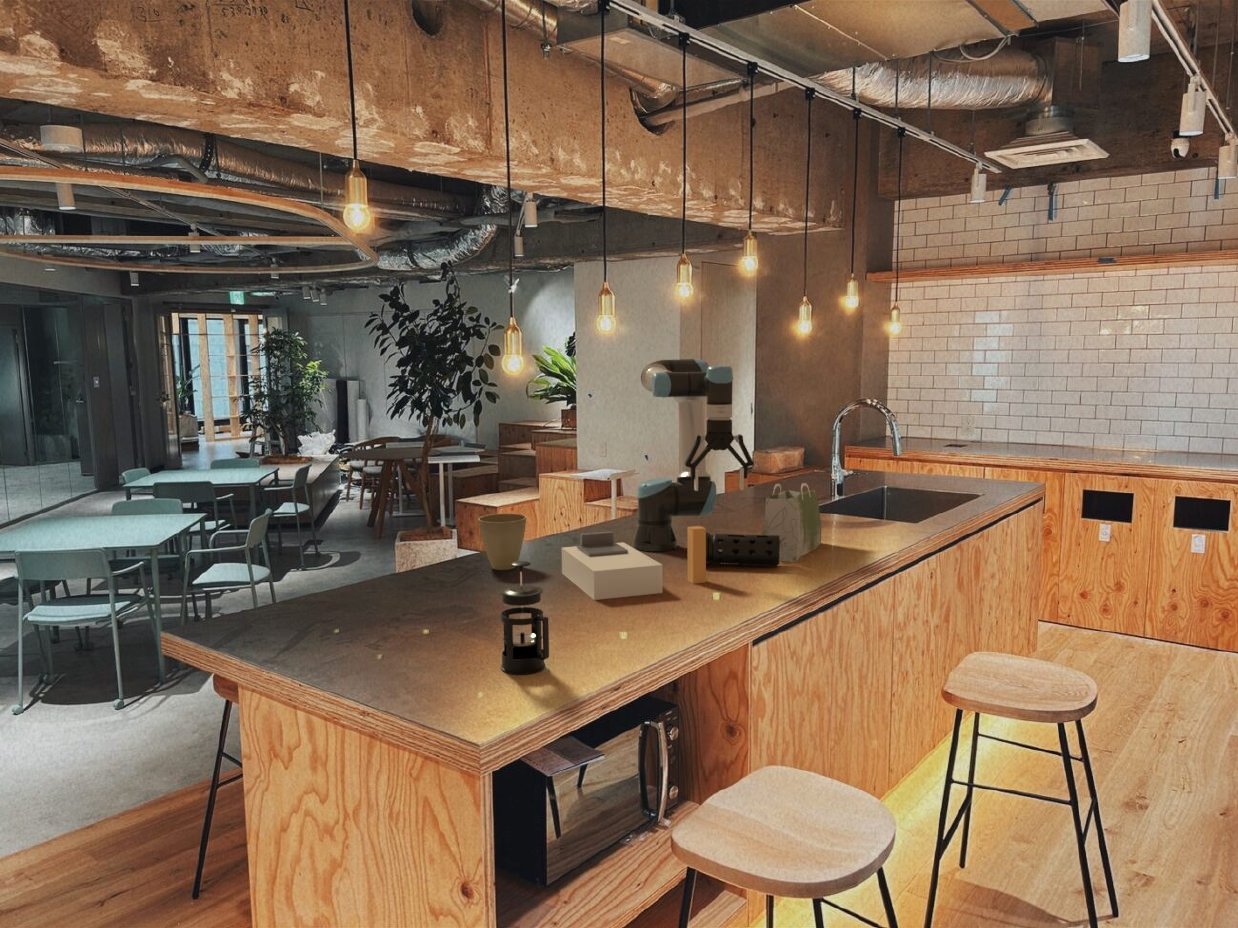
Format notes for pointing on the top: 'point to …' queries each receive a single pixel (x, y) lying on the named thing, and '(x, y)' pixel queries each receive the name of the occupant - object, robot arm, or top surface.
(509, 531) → the plant pot
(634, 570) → the socket block
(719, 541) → the muzzle brake
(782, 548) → the grocery bag
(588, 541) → the shutter
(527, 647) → the french press
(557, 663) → the top surface
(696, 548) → the plug peg
